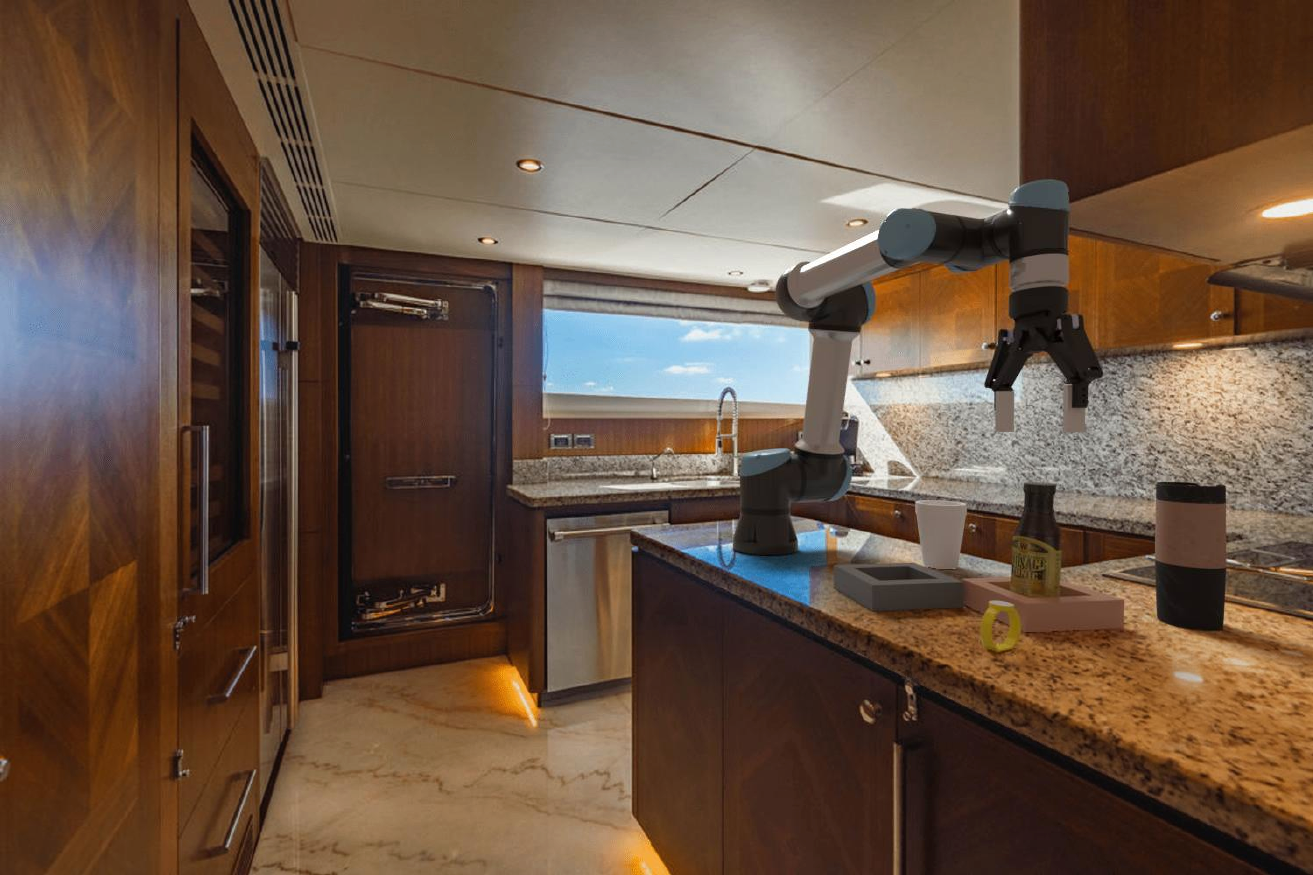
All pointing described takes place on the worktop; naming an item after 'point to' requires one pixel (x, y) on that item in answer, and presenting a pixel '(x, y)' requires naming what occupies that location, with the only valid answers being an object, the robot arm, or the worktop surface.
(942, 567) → the foam cup
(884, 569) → the holder
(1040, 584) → the sauce bottle
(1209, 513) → the travel mug
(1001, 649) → the watch
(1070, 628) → the holder
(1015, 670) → the worktop surface
